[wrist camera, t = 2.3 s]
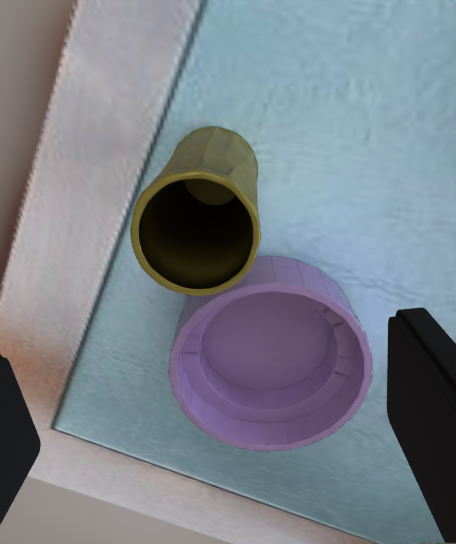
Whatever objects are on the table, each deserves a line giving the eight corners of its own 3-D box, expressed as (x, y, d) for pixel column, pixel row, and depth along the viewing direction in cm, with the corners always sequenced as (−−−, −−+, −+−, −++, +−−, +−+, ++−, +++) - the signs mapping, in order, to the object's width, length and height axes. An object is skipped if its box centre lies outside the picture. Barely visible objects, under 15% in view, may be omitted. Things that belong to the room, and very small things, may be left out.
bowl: (165, 262, 33) (152, 294, 28) (353, 244, 32) (374, 273, 27) (192, 408, 38) (185, 457, 33) (353, 396, 37) (371, 444, 32)
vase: (254, 122, 29) (268, 151, 15) (260, 210, 31) (276, 301, 18) (164, 130, 29) (103, 166, 16) (177, 218, 31) (133, 311, 18)
